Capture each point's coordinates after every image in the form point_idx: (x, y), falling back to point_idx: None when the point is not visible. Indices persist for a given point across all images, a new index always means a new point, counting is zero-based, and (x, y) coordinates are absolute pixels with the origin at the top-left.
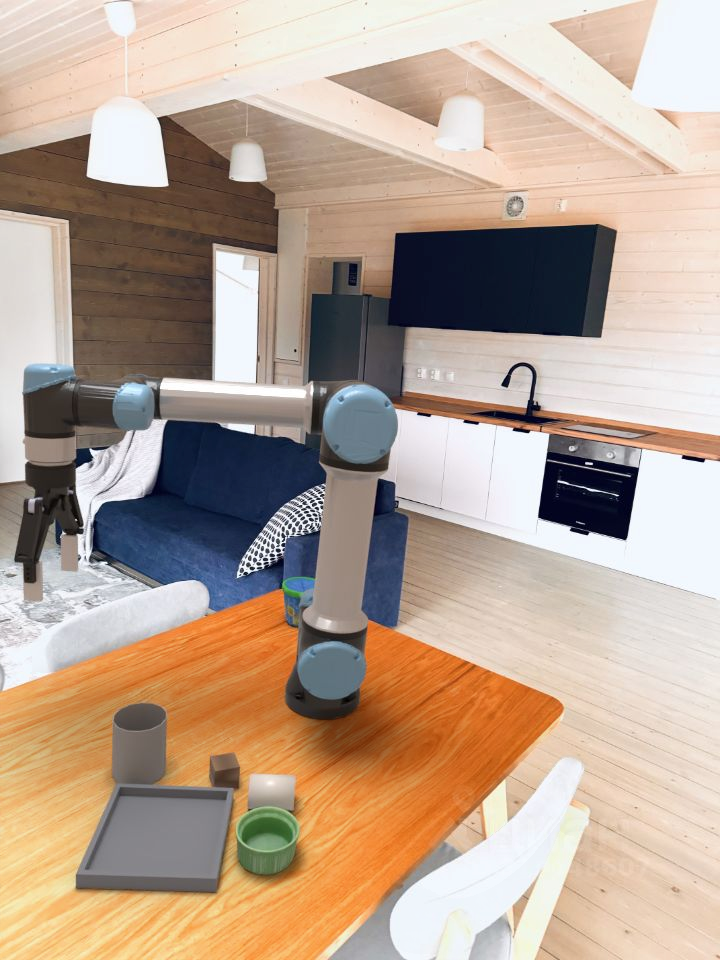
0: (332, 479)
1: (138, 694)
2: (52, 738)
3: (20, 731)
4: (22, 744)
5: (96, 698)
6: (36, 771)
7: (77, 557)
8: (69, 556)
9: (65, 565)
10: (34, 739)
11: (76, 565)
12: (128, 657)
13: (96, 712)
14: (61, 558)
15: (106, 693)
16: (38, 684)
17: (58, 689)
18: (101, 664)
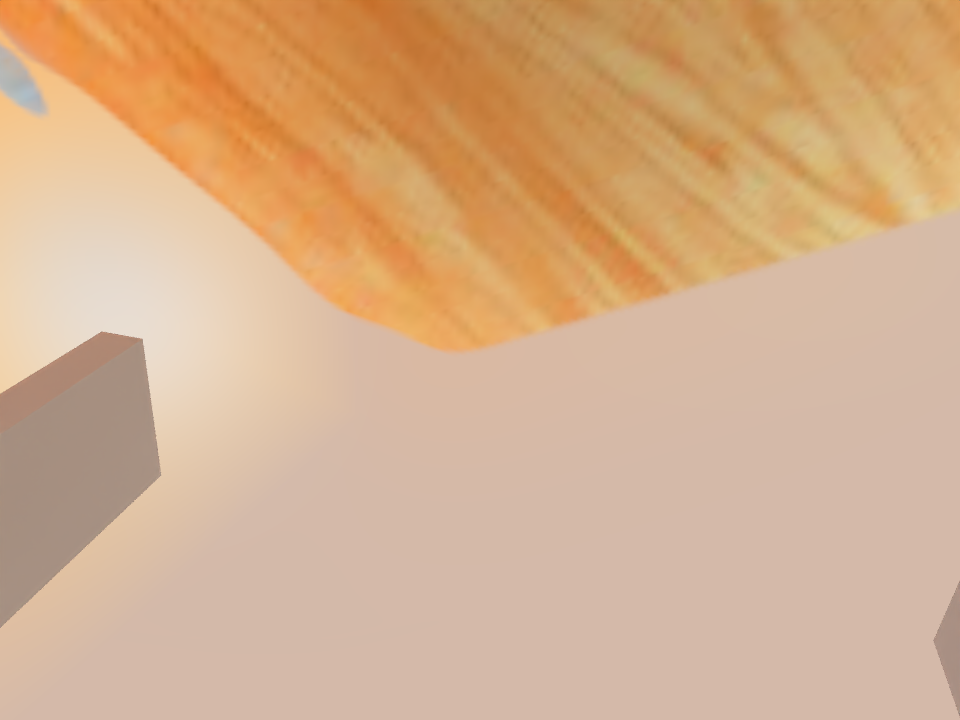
0: None
1: None
2: (700, 134)
3: (650, 261)
4: (735, 229)
5: (410, 46)
6: (925, 124)
7: (2, 406)
8: (34, 495)
9: (119, 470)
10: (704, 198)
11: (93, 369)
12: (85, 5)
13: (512, 13)
14: (75, 552)
15: (368, 15)
16: (347, 292)
17: (368, 214)
18: (166, 104)
